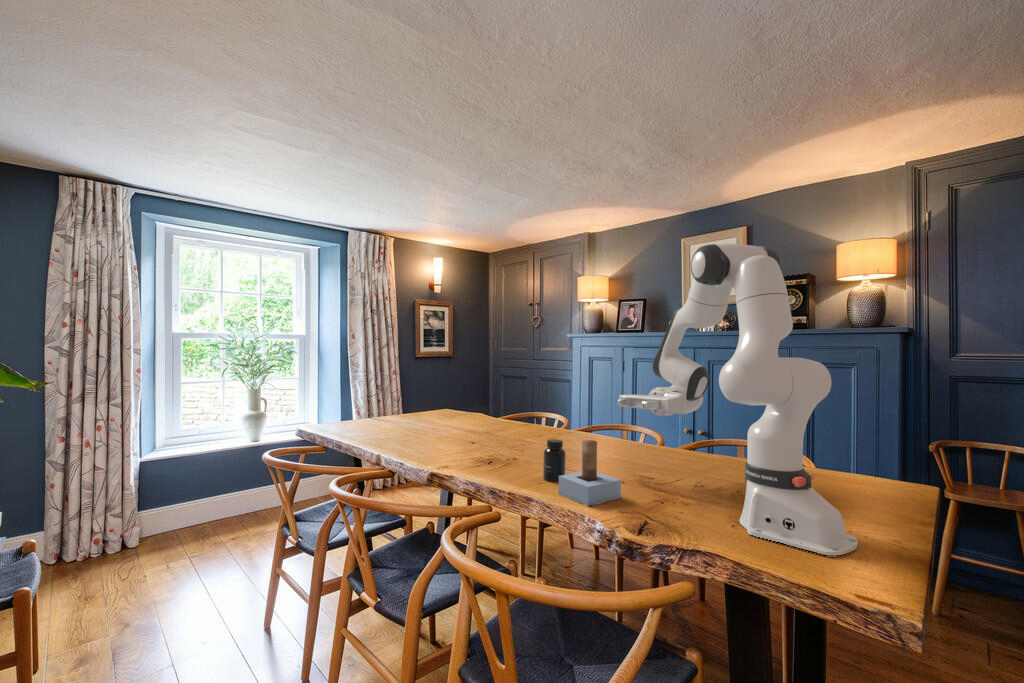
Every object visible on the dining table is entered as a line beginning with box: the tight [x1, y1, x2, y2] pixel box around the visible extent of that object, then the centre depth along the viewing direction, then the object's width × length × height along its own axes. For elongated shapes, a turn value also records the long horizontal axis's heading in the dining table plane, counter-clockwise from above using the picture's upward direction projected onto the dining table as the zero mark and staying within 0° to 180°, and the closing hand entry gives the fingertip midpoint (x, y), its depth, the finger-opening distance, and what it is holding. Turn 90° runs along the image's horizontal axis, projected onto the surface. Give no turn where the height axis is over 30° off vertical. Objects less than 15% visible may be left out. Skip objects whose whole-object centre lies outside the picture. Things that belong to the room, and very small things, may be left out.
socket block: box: [558, 471, 622, 507], centre depth 127 cm, size 12×12×5 cm
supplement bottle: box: [542, 438, 567, 482], centre depth 143 cm, size 7×7×12 cm
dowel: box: [581, 439, 598, 482], centre depth 127 cm, size 4×4×14 cm
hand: (631, 403), depth 136 cm, fingers open, 8 cm apart
